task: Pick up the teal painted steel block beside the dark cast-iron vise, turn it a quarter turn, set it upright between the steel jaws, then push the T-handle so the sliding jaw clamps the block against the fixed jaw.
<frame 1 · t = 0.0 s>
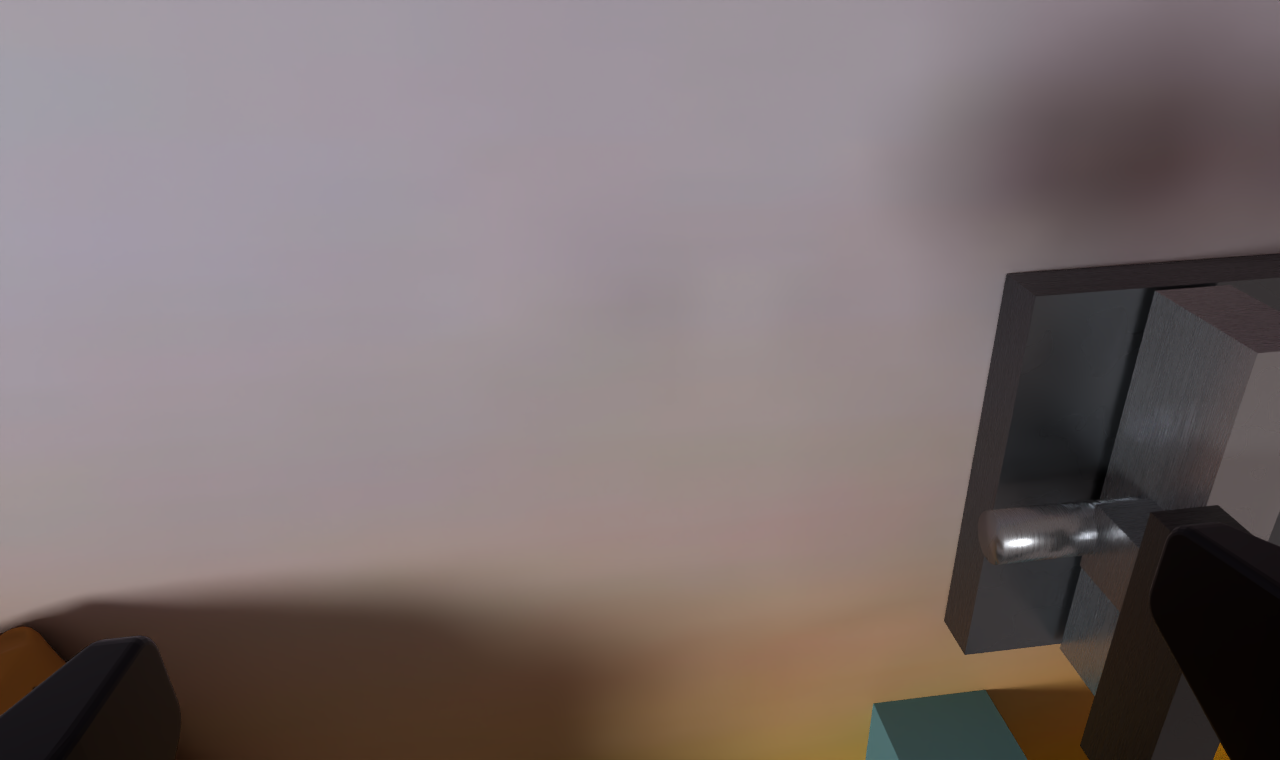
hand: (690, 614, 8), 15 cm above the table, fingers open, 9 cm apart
teal block: (920, 745, 32), on the table
vise: (1256, 438, 27), on the table
vise jaw: (1149, 580, 22), point 5 cm above the table, slide at 0.0 cm
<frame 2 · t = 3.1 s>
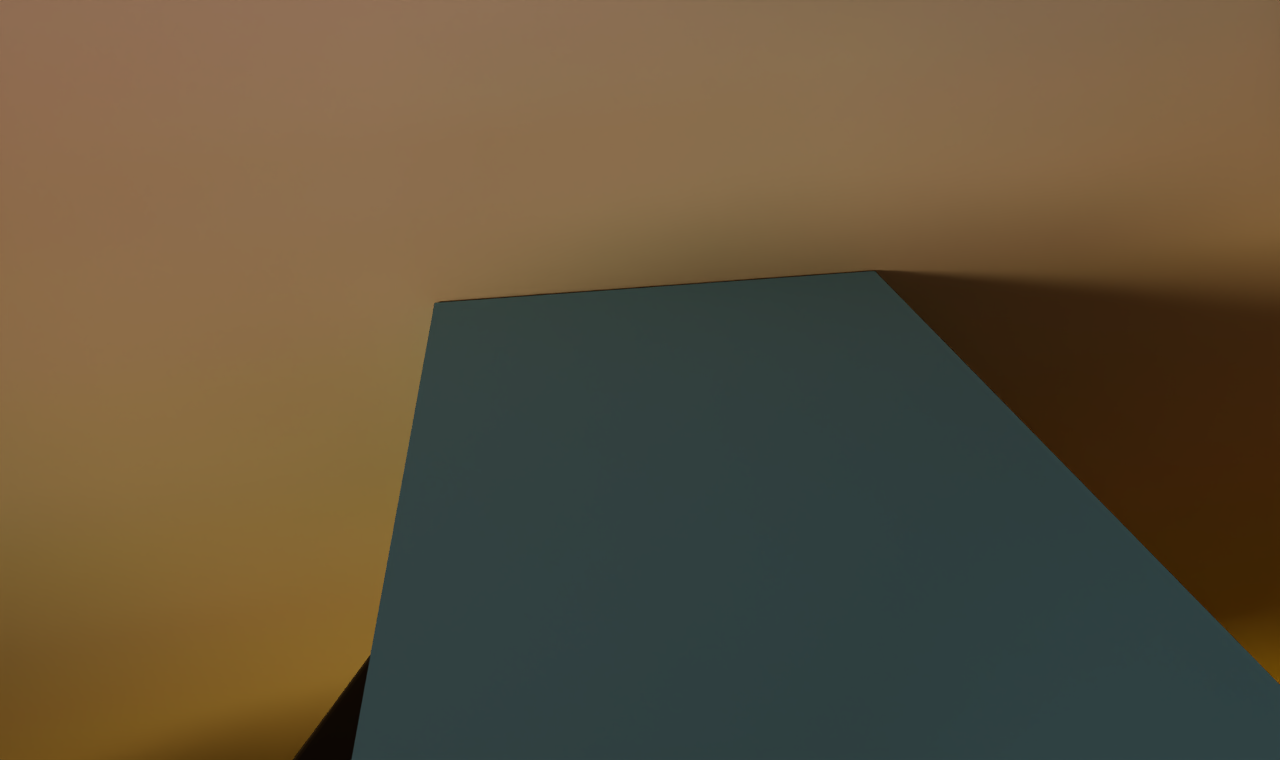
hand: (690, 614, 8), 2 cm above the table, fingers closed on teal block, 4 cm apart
teal block: (663, 511, 9), on the table, touching gripper
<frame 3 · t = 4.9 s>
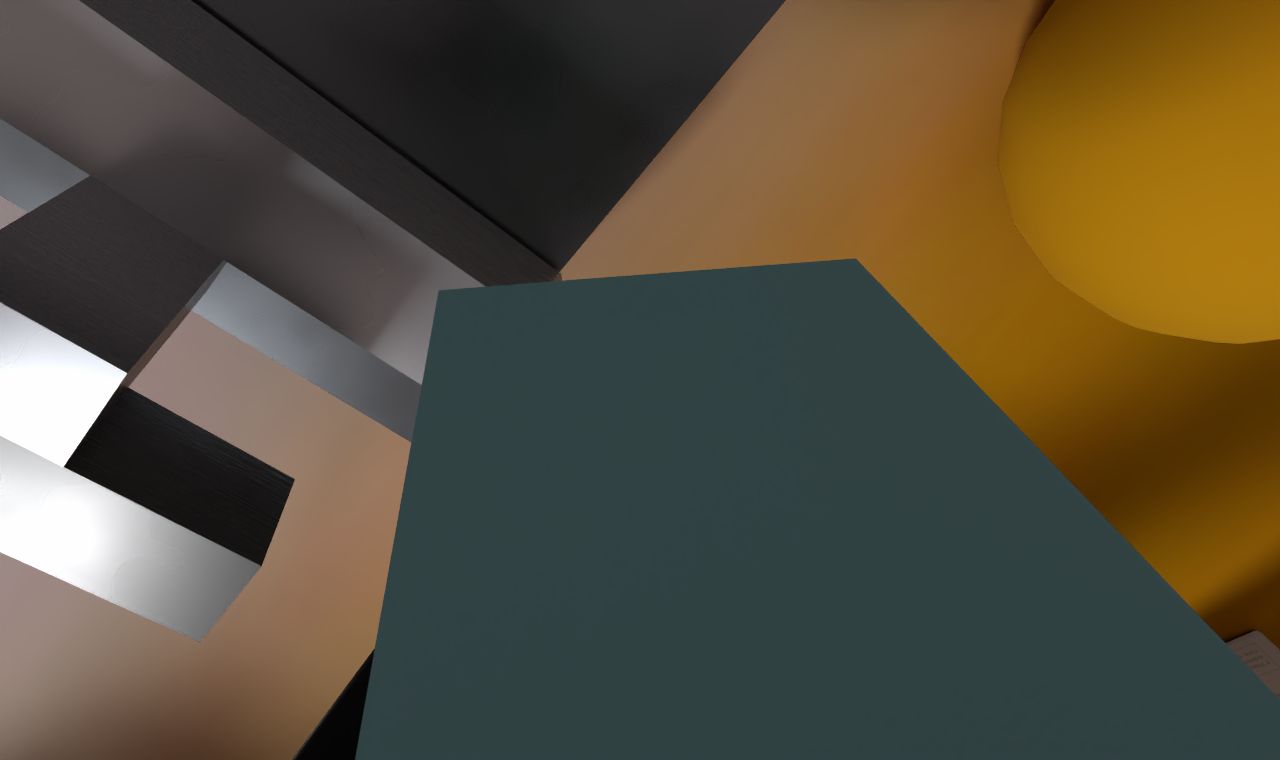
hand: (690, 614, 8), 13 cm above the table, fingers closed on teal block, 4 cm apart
teal block: (657, 490, 10), point 11 cm above the table, touching gripper
supplement box: (1158, 734, 30), on the table
orange fruit: (1116, 94, 20), on the table
vise jaw: (120, 274, 13), point 5 cm above the table, slide at 0.0 cm
when the fingers open (4 cm above the table, at t = 7.1 s): teal block stays where it is, resting on vise.
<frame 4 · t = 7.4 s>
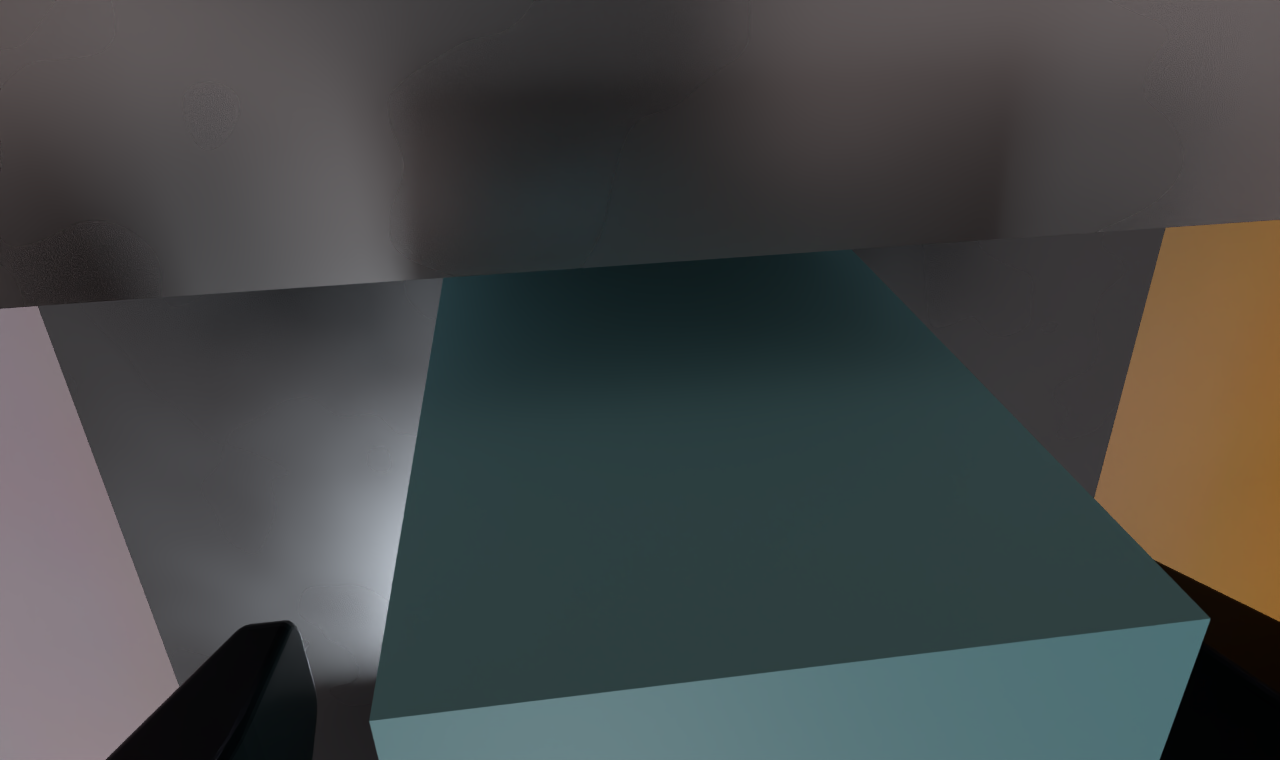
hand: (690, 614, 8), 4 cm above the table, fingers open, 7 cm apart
teal block: (647, 440, 11), point 1 cm above the table, touching vise
vise: (632, 528, 13), on the table
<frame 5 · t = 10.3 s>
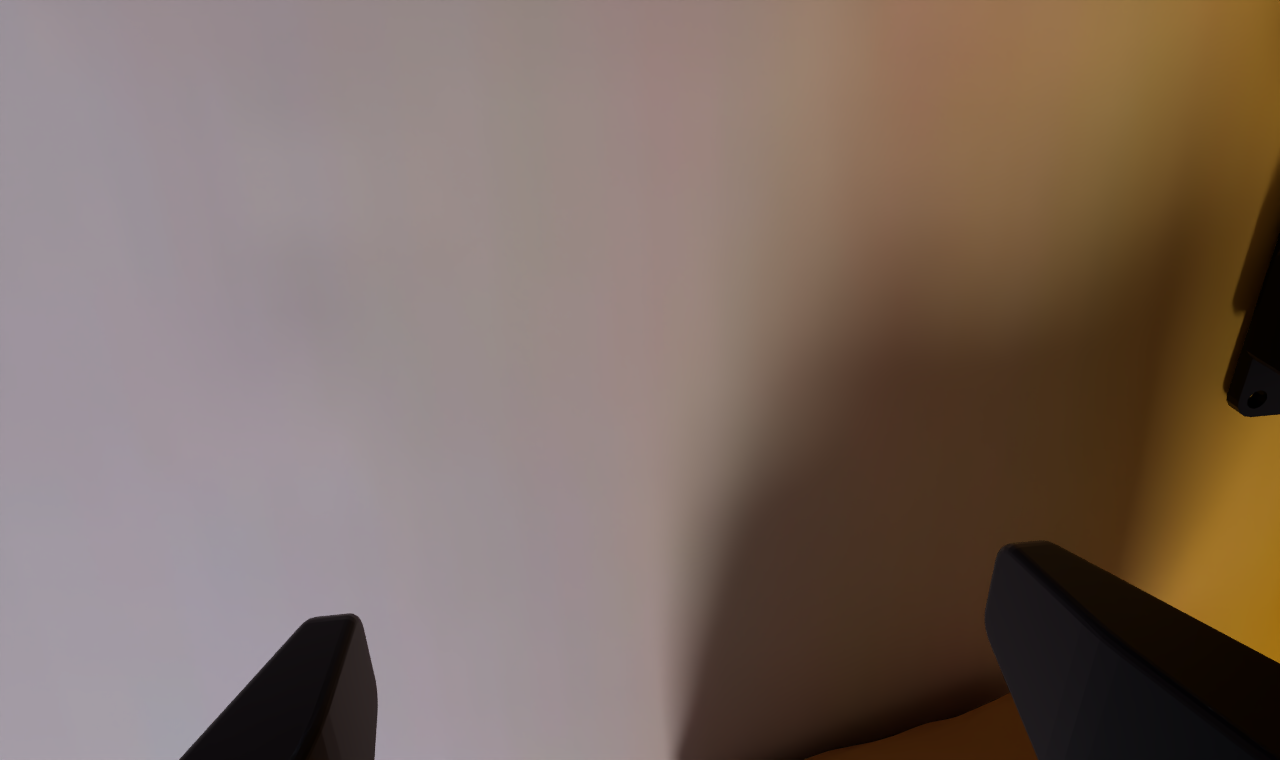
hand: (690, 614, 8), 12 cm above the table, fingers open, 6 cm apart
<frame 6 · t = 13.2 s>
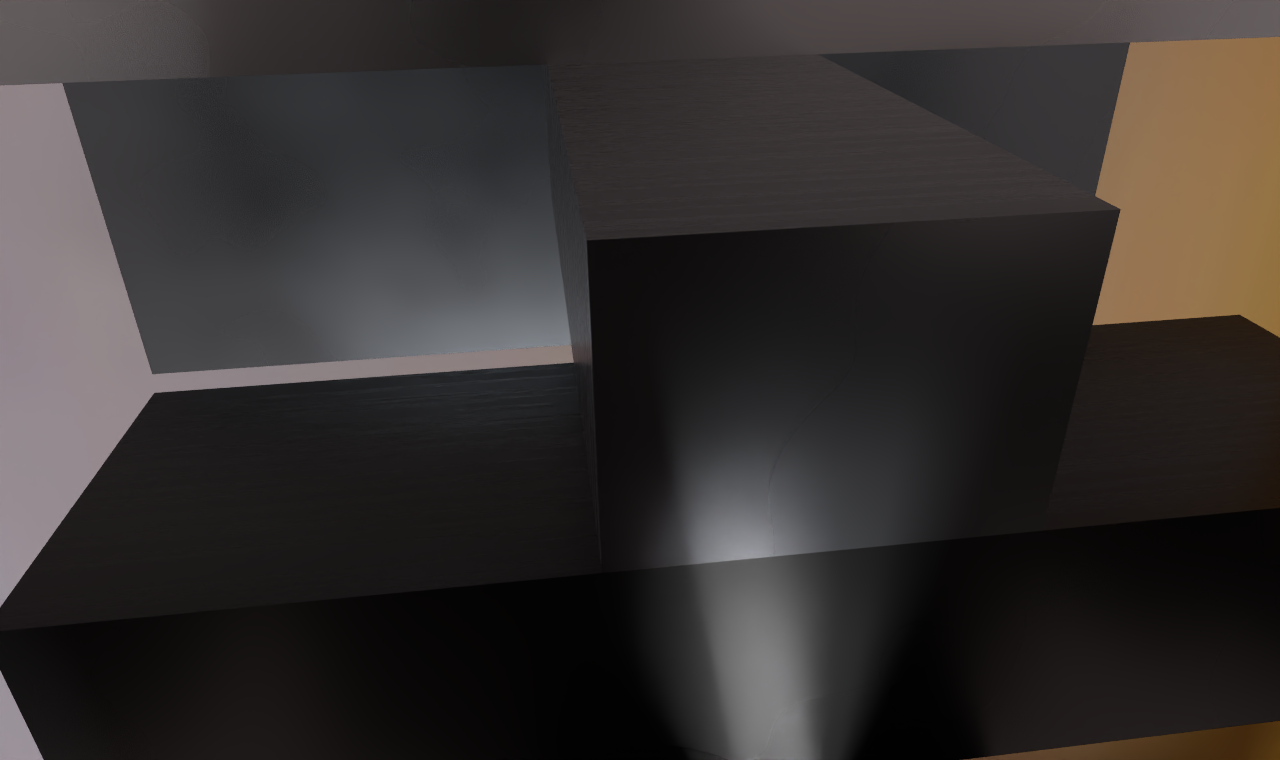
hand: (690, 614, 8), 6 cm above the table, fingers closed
vise jaw: (687, 198, 7), point 5 cm above the table, slide at 1.1 cm, touching gripper
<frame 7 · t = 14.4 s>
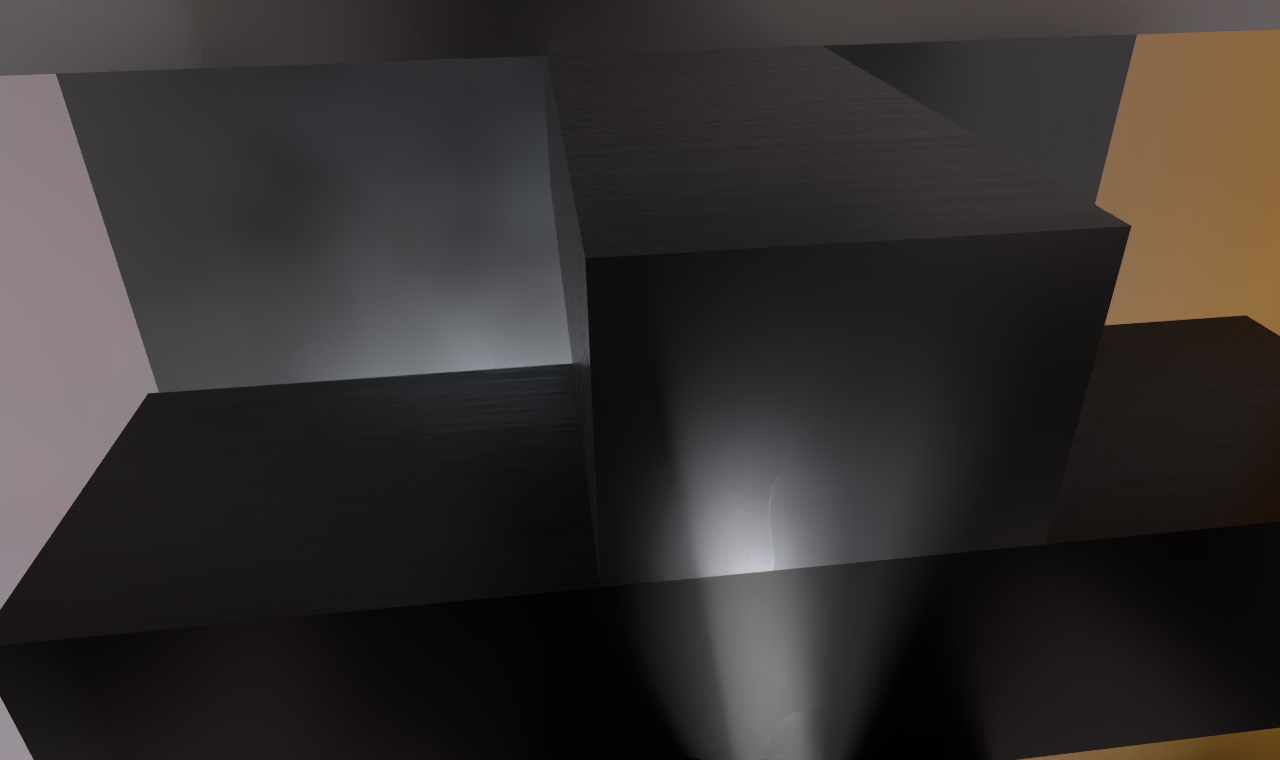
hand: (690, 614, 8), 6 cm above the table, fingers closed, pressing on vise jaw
vise jaw: (687, 192, 7), point 5 cm above the table, slide at 5.0 cm, touching gripper, teal block
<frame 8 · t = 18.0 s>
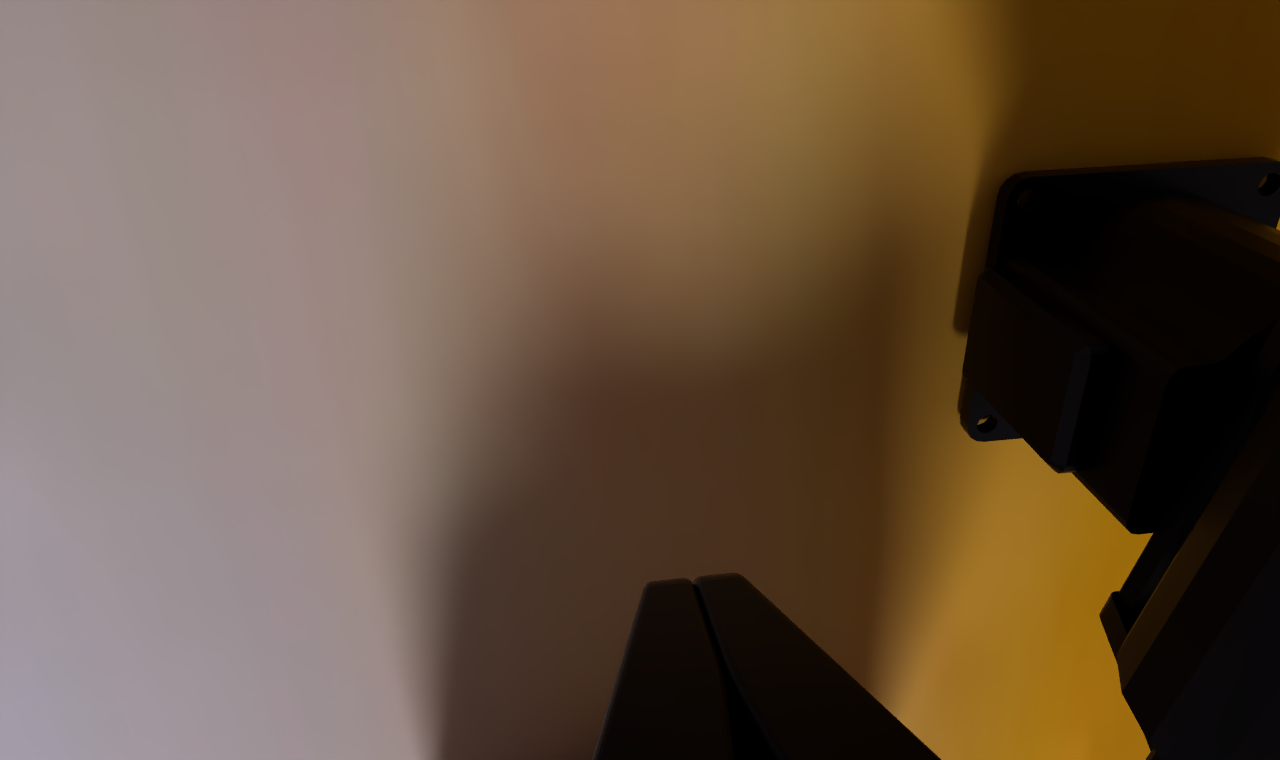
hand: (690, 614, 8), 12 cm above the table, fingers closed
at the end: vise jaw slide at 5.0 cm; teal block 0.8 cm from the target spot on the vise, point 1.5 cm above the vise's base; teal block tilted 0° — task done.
